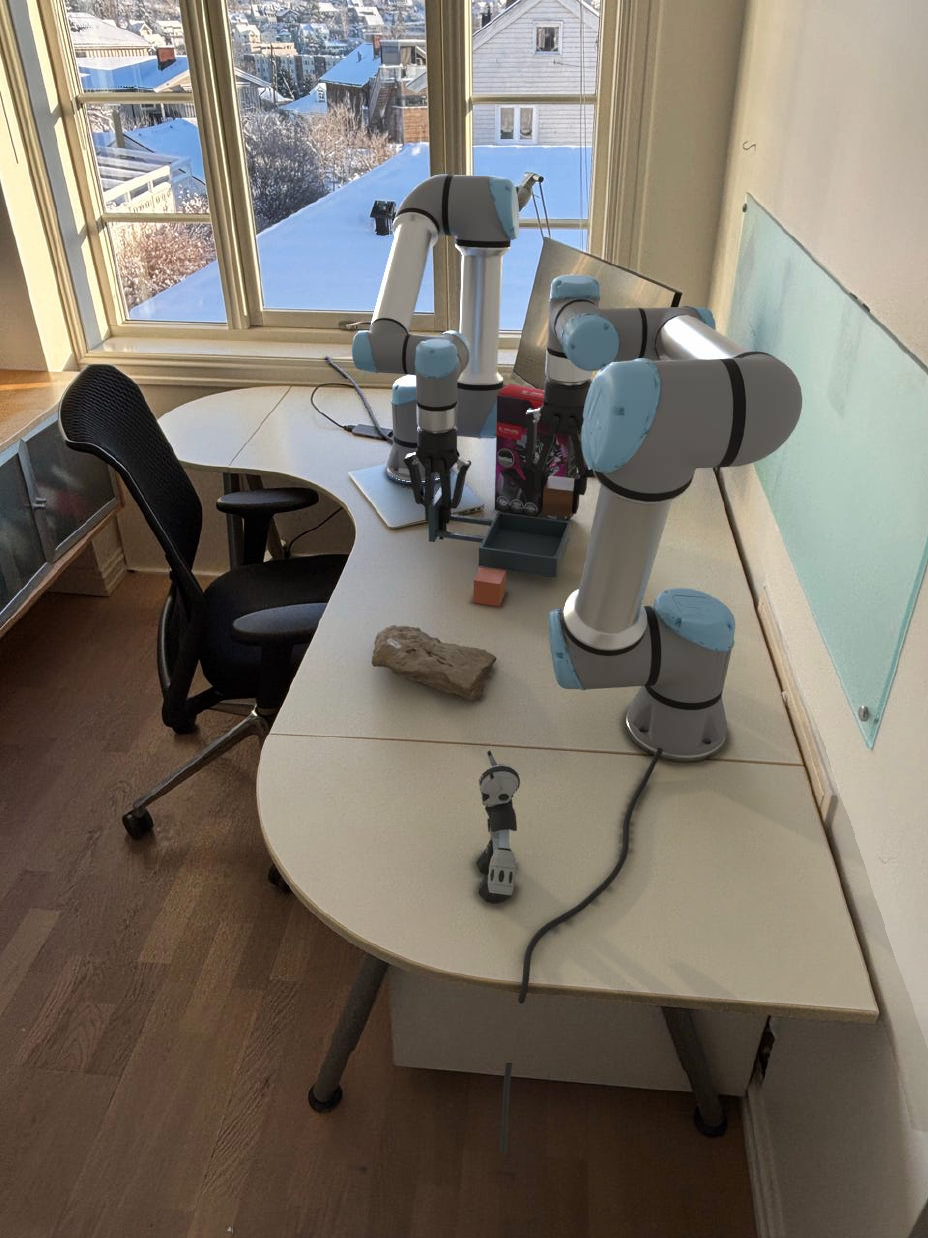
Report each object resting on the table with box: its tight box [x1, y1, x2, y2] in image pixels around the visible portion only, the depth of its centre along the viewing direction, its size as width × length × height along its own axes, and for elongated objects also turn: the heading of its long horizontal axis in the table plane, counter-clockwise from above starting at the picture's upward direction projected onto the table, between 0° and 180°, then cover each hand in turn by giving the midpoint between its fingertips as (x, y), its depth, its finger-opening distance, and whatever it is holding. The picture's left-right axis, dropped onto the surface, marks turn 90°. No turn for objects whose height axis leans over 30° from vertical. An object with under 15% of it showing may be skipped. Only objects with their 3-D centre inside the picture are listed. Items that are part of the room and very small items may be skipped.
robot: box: [475, 750, 521, 904], centre depth 113 cm, size 20×5×20 cm, turn 3°
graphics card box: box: [494, 383, 578, 522], centre depth 195 cm, size 17×7×27 cm, turn 62°
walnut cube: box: [542, 476, 575, 518], centre depth 159 cm, size 5×5×5 cm
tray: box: [428, 486, 572, 578], centre depth 181 cm, size 26×15×10 cm, turn 75°
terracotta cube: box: [472, 566, 507, 608], centre depth 173 cm, size 5×5×5 cm
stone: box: [371, 624, 498, 702], centre depth 153 cm, size 21×15×6 cm
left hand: (438, 535), depth 186 cm, fingers closed on tray
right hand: (559, 507), depth 160 cm, fingers closed on walnut cube, 5 cm apart
